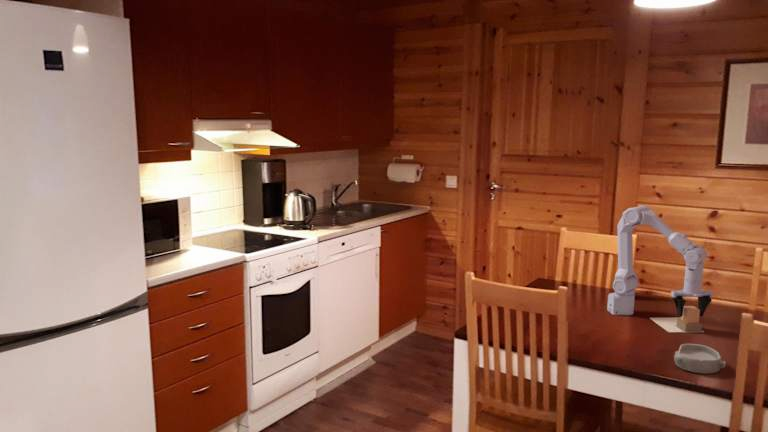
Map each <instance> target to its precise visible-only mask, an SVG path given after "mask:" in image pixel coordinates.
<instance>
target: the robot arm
mask: <svg viewBox="0 0 768 432" xmlns="http://www.w3.org/2000/svg"><path fill="white" fill-rule="evenodd" d="M639 224H640V225H643V226H650V227H652V228H653V229H655V230H656V231H657V232H659V233H660V234H661V235H663V237H664V238H665V237H666V238H667V240H668V244H669V246H671V247H672V248H674V249H675V250H676V251H677V252H678V253H679V254H680V255H682V256H683V260H684V261H685V272H684V279H683V280H684V281H683V289H679V290H671V291H670V297H672V300H673V302H674V306H675V308H676V313H677V314H676V315H677V316H678V317H682V315H683V307H684V306H685V304H686V300H685V299H684V298H693V297H694V298H697V302H698V304H697V305H698V306H697V308H698V309H699V310H700V316H699V317H704V314H705V312H706V310H707V308H708V307H709V305H710V303H712V300H713V299H712V298H714V292H713V291H712V290H704V289H702V286H703V278H704V277H703V276H704V265H705V264H704V263H705V260H706V259H707V258H708V252H707V250H706V249H705V248H704V247H703V246H700V245H698V244H697V243H696V242H693V241H692V240H690V239H689V238H688V237H687V234H686V233H685V232H684V233H682V232H680V231H679V232H675V231H674V230H673V228H671V227H670V225H668V224H667V223H666V222H665V221H663V220H662V219H661V217H659V216H658V215H657V214H656V213H655V211H654V210H652V209H650V208H649V207H648V206H647V205H644V204H641V205H638V206H635V207H629V208H627V209H626V210H624V211H623V212H622V216H621V218H620V220H618V223H617V226H616V227H617V229H616V230H617V231H616V232H617V267H618V269H617V271H616V272H615V274H614V281H613V282H612V288H613V289H612V290H614V292H610V293H608V295H607V304H606V306H607V307H606V311H608V312H609V313H610V314H612V316H631V315H634V309H635V296H636V295H635V294H636V289H637V288H638V287H639V279H638V277H637V272H636V271H635V269H634V256H633V255H634V252H633V250H634V249H633V247H634V246H633V245H634V244H633V230H634V229H635V228H636V227H637V226H639Z"/></svg>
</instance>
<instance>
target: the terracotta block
mask: <svg viewBox="0 0 768 432" xmlns="http://www.w3.org/2000/svg"><path fill="white" fill-rule="evenodd" d="M700 317H701V316H700V310H699V309H698V307H696V306H694V305H684V307H683V315H682V317H681V320H683V321H684V322H686V323H699V322H700Z"/></svg>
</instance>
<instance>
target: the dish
mask: <svg viewBox="0 0 768 432" xmlns="http://www.w3.org/2000/svg"><path fill="white" fill-rule="evenodd" d="M673 359H674V364H675V365H676V366H677V367H679V368H680V369H682V370H684V371H688V372H691V373H696V374H714V373H715V374H716V373H718V372H719V371H720V370H721V369H724V368H726V366H727V362H726V361H725V360H723V359H722V357H721V354H720V353H719V352H718V351H717V350H715V349H714V348H712V347H709V346H707V345H704V344H696V343H683V344H680V346H679V348H678V350H676V351H675V352H674V355H673Z"/></svg>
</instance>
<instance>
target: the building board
mask: <svg viewBox="0 0 768 432" xmlns="http://www.w3.org/2000/svg"><path fill="white" fill-rule="evenodd" d="M649 319H650V320H652V321H653V322H655V324H657V325H658V326H659V327H661V328H662V329H664V330H665V331H666V332H667V333H685V334H688V333H705V331H704V330H702V329H703V323H702V322H700V321H699V323H686V322H684V321H683V320H681V317H680V316H678V317H677V316H676V317H649Z"/></svg>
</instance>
